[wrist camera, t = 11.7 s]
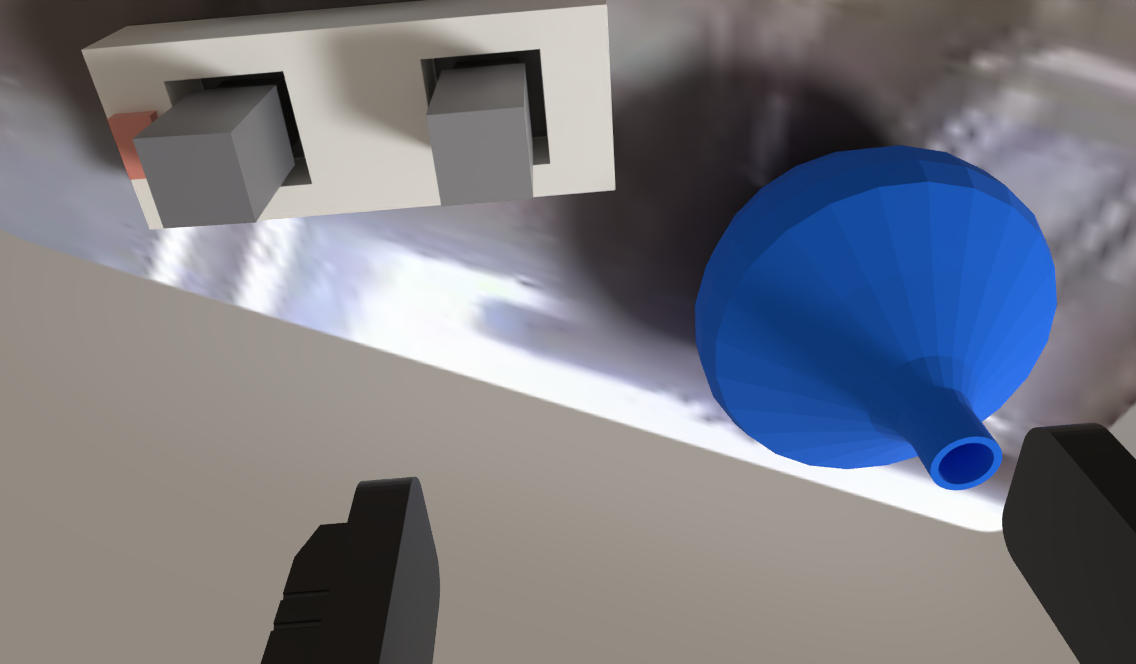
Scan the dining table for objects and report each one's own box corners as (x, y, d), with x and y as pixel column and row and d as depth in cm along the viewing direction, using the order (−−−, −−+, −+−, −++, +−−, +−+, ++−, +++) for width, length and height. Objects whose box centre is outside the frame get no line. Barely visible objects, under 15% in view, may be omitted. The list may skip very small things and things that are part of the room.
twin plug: (446, 54, 42) (425, 115, 33) (525, 48, 42) (523, 106, 33) (458, 131, 44) (441, 206, 35) (532, 124, 44) (533, 198, 35)
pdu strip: (126, 26, 41) (72, 54, 36) (598, -15, 41) (608, 7, 36) (184, 191, 46) (143, 236, 41) (607, 155, 46) (616, 196, 41)
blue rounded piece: (931, 377, 55) (1096, 608, 39) (662, 376, 54) (718, 613, 38) (1018, 109, 46) (1288, 269, 29) (693, 102, 45) (786, 265, 28)
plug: (212, 73, 42) (132, 138, 33) (291, 68, 42) (230, 132, 33) (234, 148, 44) (163, 228, 35) (308, 144, 44) (255, 222, 35)
